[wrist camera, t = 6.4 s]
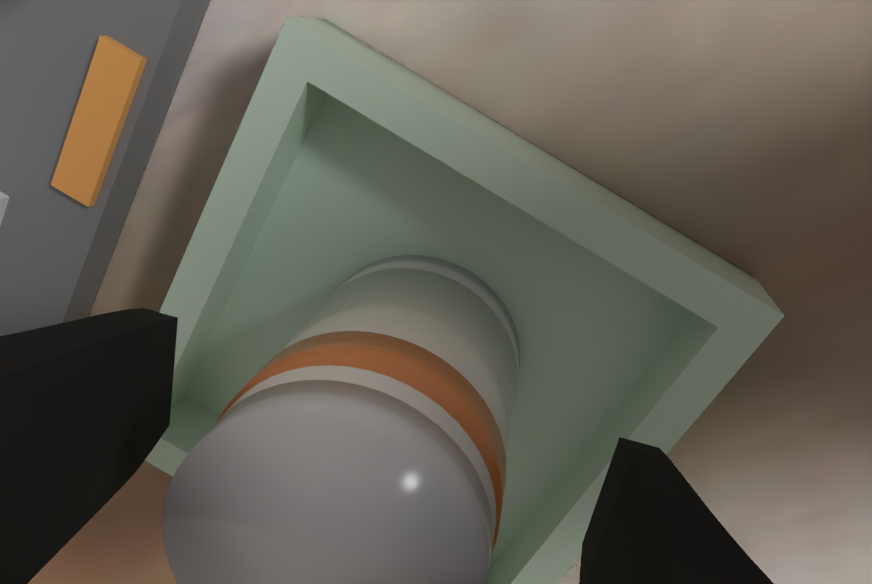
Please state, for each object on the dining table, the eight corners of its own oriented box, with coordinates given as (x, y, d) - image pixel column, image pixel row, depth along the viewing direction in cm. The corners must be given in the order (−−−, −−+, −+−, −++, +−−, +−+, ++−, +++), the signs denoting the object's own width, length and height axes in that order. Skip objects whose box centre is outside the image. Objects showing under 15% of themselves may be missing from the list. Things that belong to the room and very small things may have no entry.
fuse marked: (544, 279, 13) (525, 461, 8) (498, 465, 15) (454, 730, 9) (331, 231, 14) (165, 370, 8) (307, 415, 15) (153, 640, 10)
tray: (756, 279, 13) (784, 315, 11) (498, 597, 16) (490, 661, 15) (324, 18, 13) (287, 16, 11) (153, 395, 16) (105, 437, 14)
